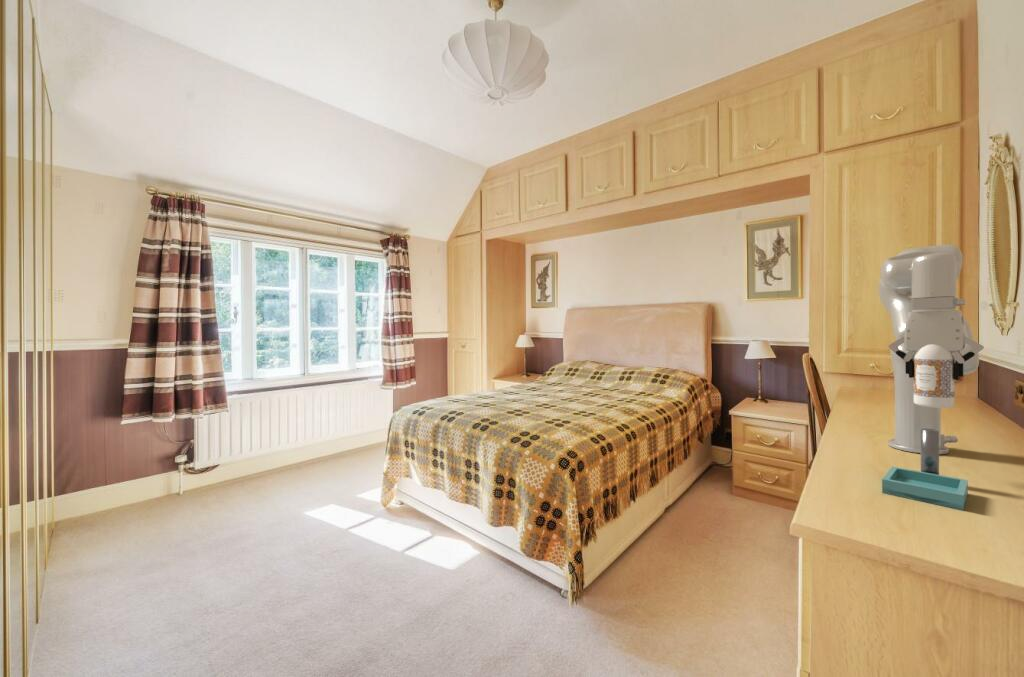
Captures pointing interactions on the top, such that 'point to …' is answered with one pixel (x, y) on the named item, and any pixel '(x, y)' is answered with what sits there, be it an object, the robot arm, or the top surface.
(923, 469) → the post
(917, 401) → the bath foam
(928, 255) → the robot arm
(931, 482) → the holder tray
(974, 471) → the top surface
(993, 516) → the top surface
